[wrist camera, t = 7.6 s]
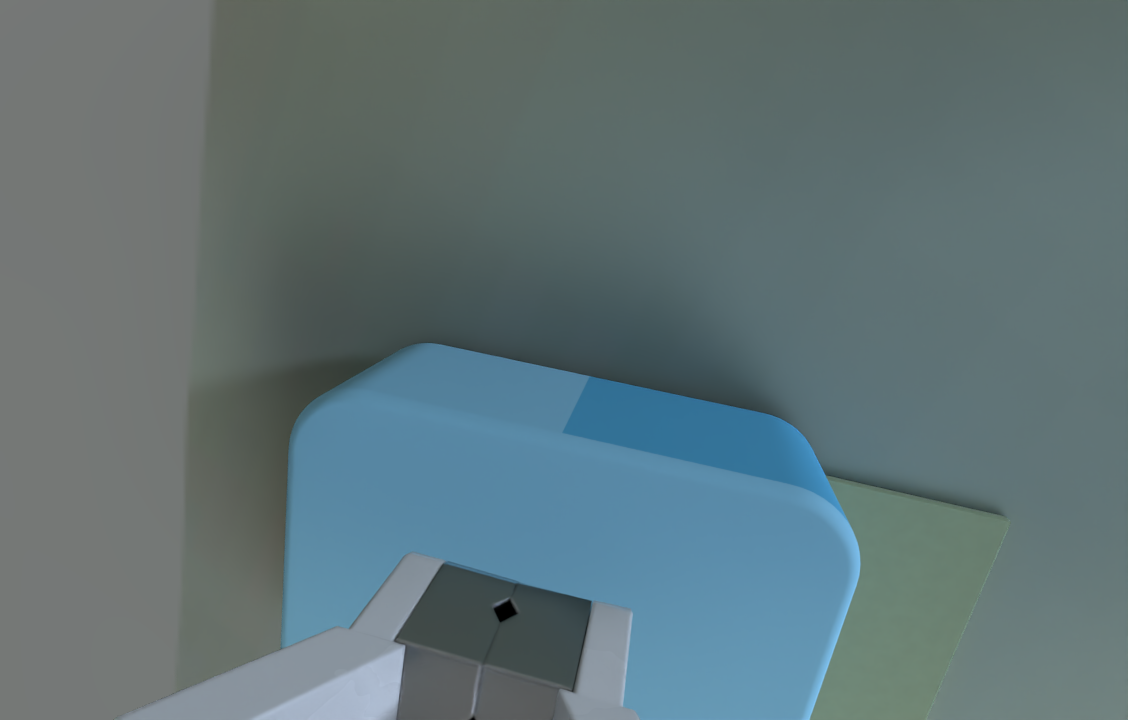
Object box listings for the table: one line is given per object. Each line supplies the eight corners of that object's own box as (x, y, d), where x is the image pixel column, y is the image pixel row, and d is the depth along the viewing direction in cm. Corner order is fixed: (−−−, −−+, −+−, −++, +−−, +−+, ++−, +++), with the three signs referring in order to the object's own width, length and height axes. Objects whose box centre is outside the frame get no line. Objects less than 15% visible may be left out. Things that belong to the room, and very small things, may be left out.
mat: (1006, 516, 16) (1011, 522, 16) (851, 878, 20) (853, 889, 19) (377, 371, 18) (372, 374, 18) (345, 724, 22) (341, 731, 22)
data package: (383, 329, 17) (354, 679, 21) (286, 376, 13) (269, 806, 16) (832, 424, 16) (720, 784, 19) (887, 512, 12) (731, 955, 15)
